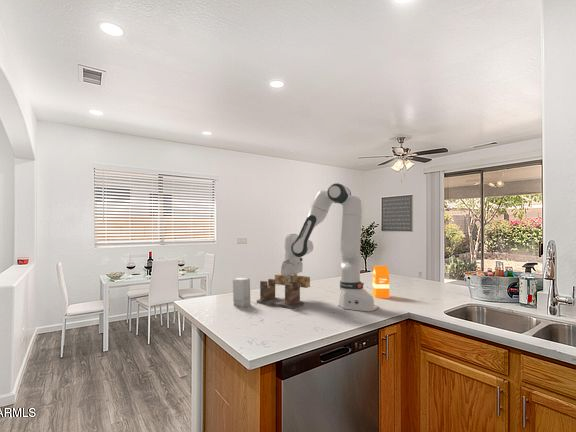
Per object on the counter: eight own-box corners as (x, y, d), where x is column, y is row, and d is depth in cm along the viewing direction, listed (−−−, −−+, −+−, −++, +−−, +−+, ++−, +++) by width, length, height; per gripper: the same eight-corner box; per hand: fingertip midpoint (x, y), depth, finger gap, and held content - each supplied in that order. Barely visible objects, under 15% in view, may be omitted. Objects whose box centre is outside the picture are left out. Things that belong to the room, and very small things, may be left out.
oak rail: (310, 286, 195) (309, 276, 195) (306, 287, 192) (306, 277, 192) (278, 283, 209) (278, 273, 209) (275, 284, 205) (275, 274, 206)
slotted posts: (303, 304, 187) (303, 282, 187) (292, 309, 177) (292, 285, 177) (268, 298, 202) (268, 278, 202) (256, 302, 192) (256, 281, 192)
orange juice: (389, 297, 203) (389, 266, 203) (375, 297, 203) (375, 266, 204) (385, 295, 211) (385, 264, 211) (372, 295, 211) (372, 264, 211)
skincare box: (250, 304, 187) (250, 278, 187) (243, 307, 181) (243, 280, 181) (239, 302, 191) (239, 277, 192) (232, 305, 186) (232, 278, 186)
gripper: (286, 261, 190) (287, 284, 190) (304, 258, 207) (304, 279, 207) (278, 261, 194) (278, 283, 193) (295, 257, 211) (296, 278, 210)
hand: (292, 281), depth 200 cm, fingers closed on oak rail, 4 cm apart
